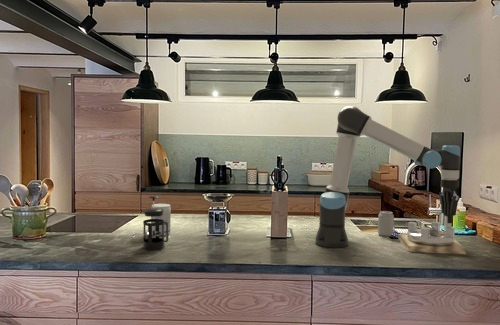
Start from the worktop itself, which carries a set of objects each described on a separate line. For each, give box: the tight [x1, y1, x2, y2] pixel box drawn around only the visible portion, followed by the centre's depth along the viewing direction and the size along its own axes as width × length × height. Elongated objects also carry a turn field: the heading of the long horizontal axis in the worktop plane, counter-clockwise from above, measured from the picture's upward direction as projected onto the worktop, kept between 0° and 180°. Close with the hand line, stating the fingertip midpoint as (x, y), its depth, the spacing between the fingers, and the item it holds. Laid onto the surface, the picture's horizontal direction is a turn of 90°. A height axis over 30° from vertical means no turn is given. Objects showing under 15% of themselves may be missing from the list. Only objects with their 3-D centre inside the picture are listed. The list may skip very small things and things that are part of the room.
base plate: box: [397, 233, 467, 255], centre depth 198 cm, size 24×22×3 cm
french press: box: [142, 195, 169, 251], centre depth 189 cm, size 12×9×23 cm
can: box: [377, 210, 395, 237], centre depth 218 cm, size 8×8×12 cm
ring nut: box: [406, 221, 456, 246], centre depth 198 cm, size 20×20×7 cm
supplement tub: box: [150, 203, 172, 236], centre depth 214 cm, size 10×10×15 cm
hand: (447, 229), depth 199 cm, fingers closed
